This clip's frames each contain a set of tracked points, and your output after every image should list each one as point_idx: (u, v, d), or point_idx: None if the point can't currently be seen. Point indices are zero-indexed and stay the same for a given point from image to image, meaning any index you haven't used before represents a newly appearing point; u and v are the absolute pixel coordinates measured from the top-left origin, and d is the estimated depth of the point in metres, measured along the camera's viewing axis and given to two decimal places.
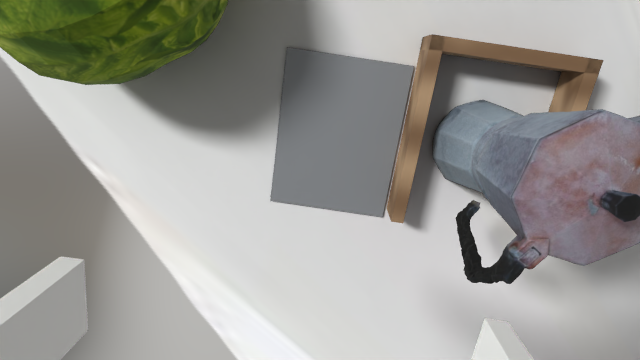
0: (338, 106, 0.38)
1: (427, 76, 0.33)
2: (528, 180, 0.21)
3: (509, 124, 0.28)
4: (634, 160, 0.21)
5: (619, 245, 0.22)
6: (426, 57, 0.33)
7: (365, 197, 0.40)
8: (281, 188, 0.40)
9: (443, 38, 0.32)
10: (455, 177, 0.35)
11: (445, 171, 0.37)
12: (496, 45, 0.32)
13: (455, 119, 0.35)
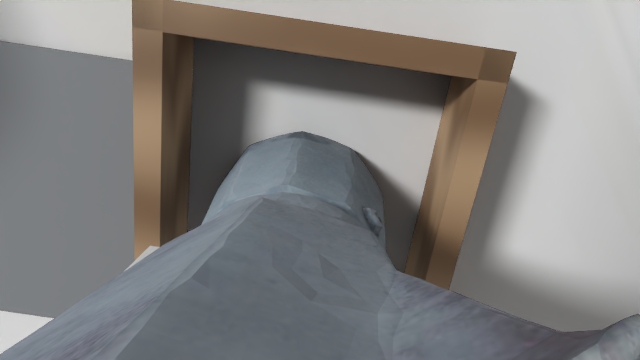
0: (35, 142, 0.20)
1: (143, 86, 0.15)
2: None
3: (194, 229, 0.10)
4: None
5: None
6: None
7: None
8: None
9: (158, 3, 0.14)
10: None
11: None
12: (277, 19, 0.14)
13: (231, 172, 0.17)
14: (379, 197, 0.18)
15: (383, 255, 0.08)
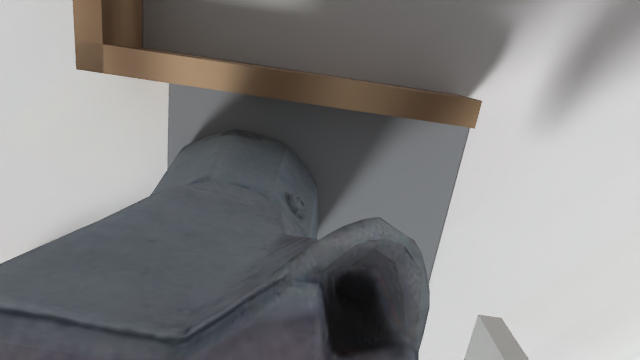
0: None
1: (154, 70, 0.16)
2: None
3: None
4: None
5: None
6: None
7: (423, 161, 0.20)
8: None
9: (79, 44, 0.16)
10: None
11: None
12: None
13: None
14: (311, 186, 0.19)
15: (280, 225, 0.09)
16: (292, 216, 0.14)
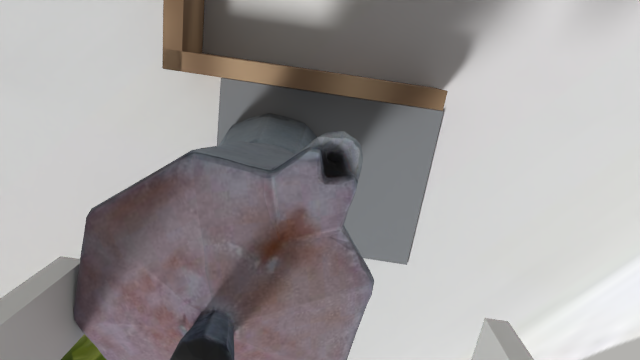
0: None
1: (216, 69, 0.23)
2: (84, 288, 0.11)
3: None
4: (259, 248, 0.10)
5: None
6: (193, 72, 0.24)
7: (409, 138, 0.27)
8: (389, 250, 0.30)
9: (165, 51, 0.23)
10: None
11: None
12: None
13: (220, 143, 0.25)
14: None
15: None
16: None
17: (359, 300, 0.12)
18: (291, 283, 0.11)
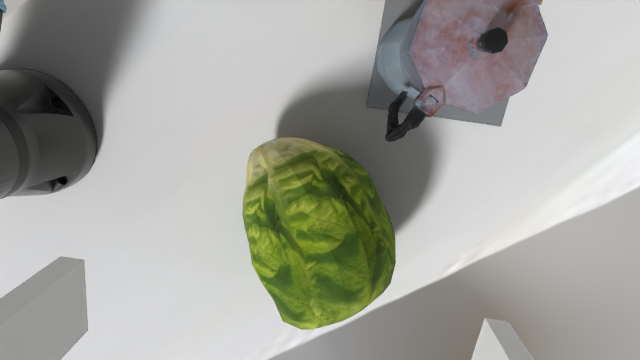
0: None
1: None
2: (420, 33, 0.25)
3: None
4: (505, 8, 0.24)
5: (505, 91, 0.26)
6: None
7: None
8: (489, 115, 0.44)
9: None
10: (394, 82, 0.39)
11: (388, 81, 0.41)
12: None
13: (392, 30, 0.39)
14: None
15: None
16: None
17: (541, 43, 0.25)
18: (516, 27, 0.25)
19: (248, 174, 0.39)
